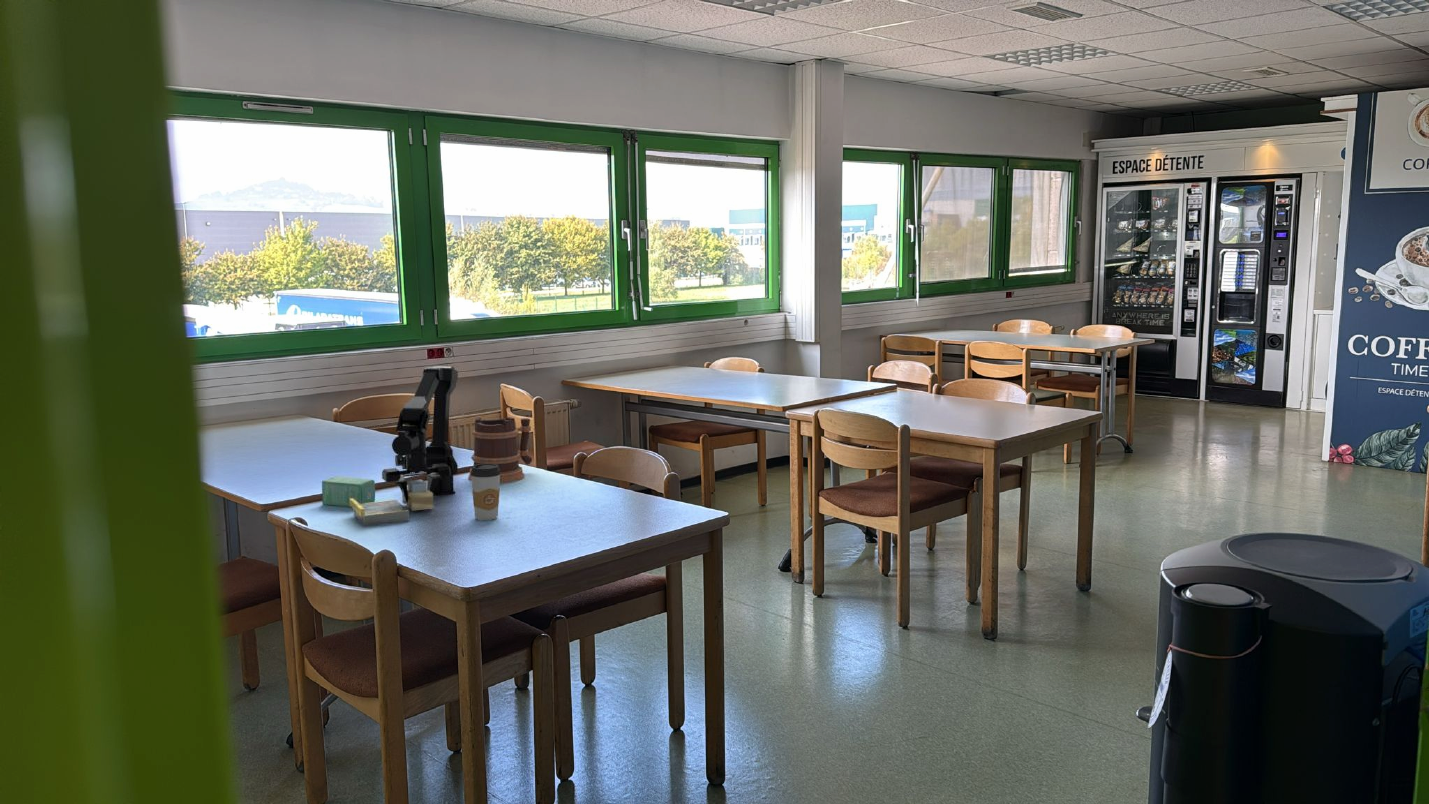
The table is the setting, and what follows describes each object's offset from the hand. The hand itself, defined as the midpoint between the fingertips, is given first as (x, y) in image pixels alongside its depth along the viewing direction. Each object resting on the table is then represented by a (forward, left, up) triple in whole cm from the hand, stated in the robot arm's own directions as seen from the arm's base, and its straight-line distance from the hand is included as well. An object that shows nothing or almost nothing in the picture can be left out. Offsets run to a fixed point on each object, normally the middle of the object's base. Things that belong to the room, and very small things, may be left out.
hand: (417, 501), depth 307 cm
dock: (+12, +6, -2) cm, 14 cm away
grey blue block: (0, 0, +3) cm, 3 cm away
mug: (-36, -29, -2) cm, 46 cm away
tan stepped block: (0, 0, -1) cm, 1 cm away
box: (+16, -15, -2) cm, 22 cm away
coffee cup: (-14, +20, -2) cm, 25 cm away
